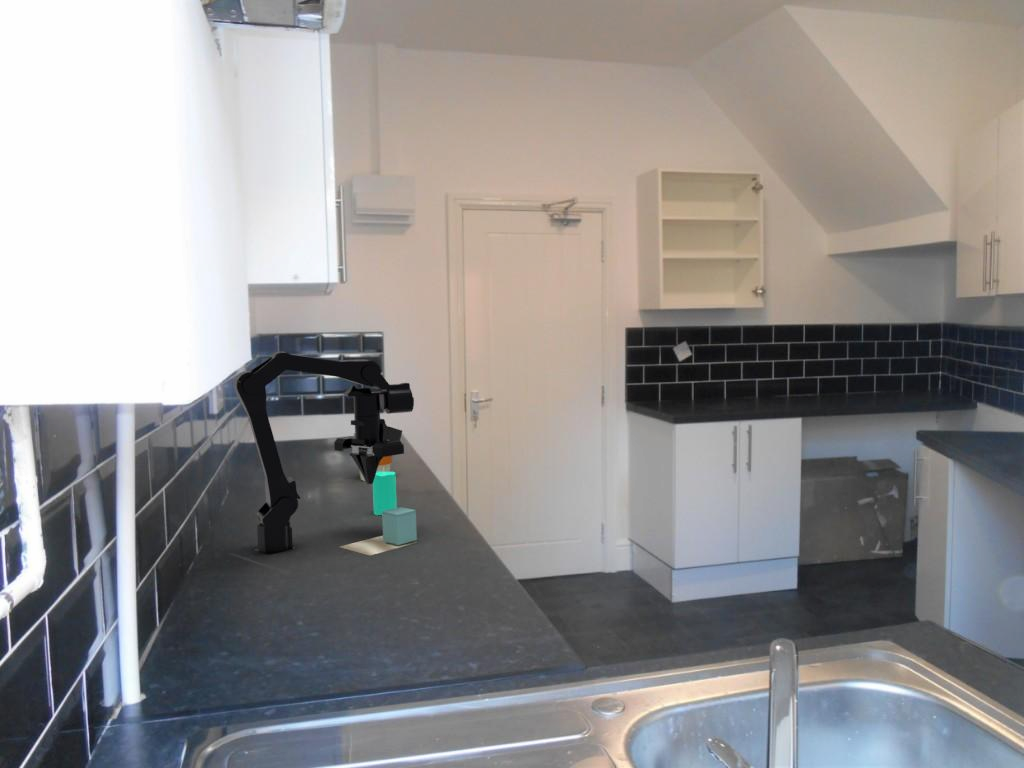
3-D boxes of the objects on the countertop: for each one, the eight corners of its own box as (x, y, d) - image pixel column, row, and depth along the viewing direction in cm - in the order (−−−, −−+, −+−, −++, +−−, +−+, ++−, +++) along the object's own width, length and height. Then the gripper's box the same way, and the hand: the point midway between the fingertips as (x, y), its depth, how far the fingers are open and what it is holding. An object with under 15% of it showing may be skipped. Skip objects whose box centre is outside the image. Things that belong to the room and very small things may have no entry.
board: (370, 558, 168) (369, 555, 168) (338, 549, 175) (338, 546, 175) (417, 544, 177) (417, 542, 177) (386, 537, 185) (386, 534, 185)
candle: (368, 514, 208) (367, 468, 208) (383, 509, 214) (381, 464, 213) (387, 516, 206) (386, 469, 205) (401, 511, 211) (400, 465, 210)
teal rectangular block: (398, 545, 174) (397, 514, 173) (383, 541, 177) (381, 511, 177) (416, 539, 177) (415, 510, 177) (401, 536, 181) (400, 507, 181)
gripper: (421, 413, 182) (424, 482, 183) (370, 410, 195) (373, 474, 196) (382, 418, 174) (385, 490, 175) (331, 414, 186) (334, 481, 187)
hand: (370, 483), depth 183 cm, fingers closed
